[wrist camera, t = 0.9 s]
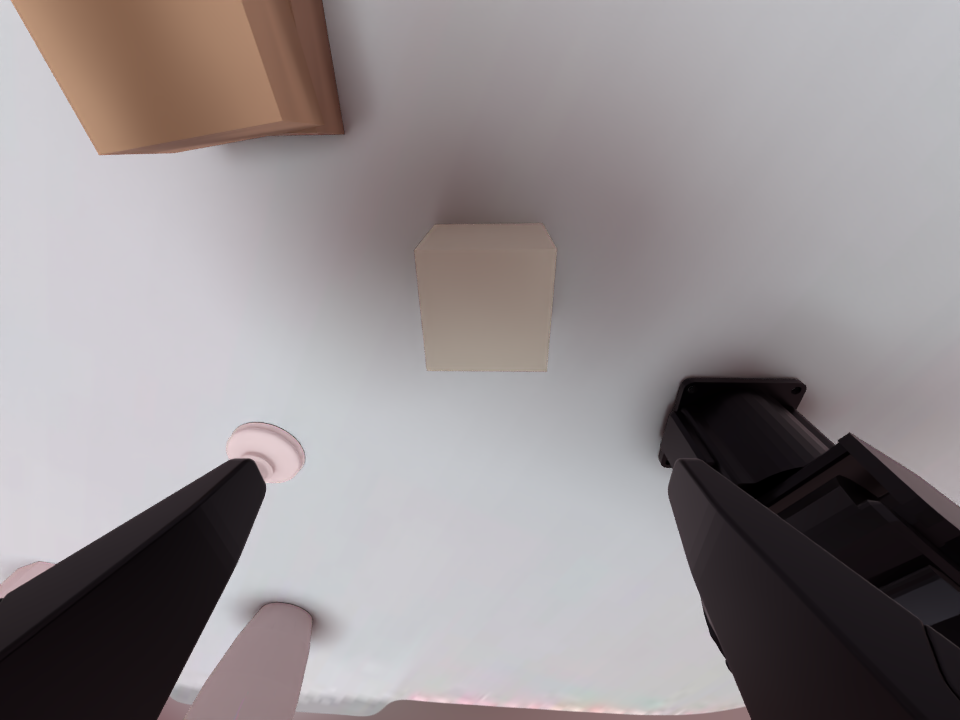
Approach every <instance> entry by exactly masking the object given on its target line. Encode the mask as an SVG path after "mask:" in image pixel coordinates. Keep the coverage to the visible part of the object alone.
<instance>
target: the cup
mask: <svg viewBox="0 0 960 720" xmlns="http://www.w3.org/2000/svg"><path fill="white" fill-rule="evenodd" d="M311 630H312V617H311V615H310V614H309V613H308V612H306V611H305V610H303V609H302V608H300V607H297V606H294V605H291V604H286V603H270V604H267V605H265V606H263V607H262V608H261V609H260V610H259V612H258V613H257V614H256V615H255V616H254V617H253V619H252V620H251V621H250V622H249V623H248V624H247V625H246V627H245V628H244V629H243V630H242V631H241V632H240V634H239V635H238V636H237V638H236V639H235V640H234V642H233V643H232V645H231V646H230V648H229V649H228V650H227V652H226V653H225V655H224V656H223V658H222V659H221V660H220V662H219V663H218V665H217V666H216V668H215V669H214V670H213V672H212V673H211V675H210V676H209V678H208V679H207V680H206V682H205V684H204V685H203V687H202V689H201V690H200V692H199V694H198V695H197V697H196V699H195V700H194V702H193V704H192V705H191V707H190V709H189V711H188V712H187V714H186V716H185V717H184V719H183V720H292V719H293V716H294V713H295V710H296V706H297V703H298V699H299V695H300V691H301V686H302V682H303V677H304V673H305V668H306V664H307V660H308V655H309V649H310V639H311Z"/></svg>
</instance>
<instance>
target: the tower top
mask: <svg viewBox="0 0 960 720" xmlns="http://www.w3.org/2000/svg"><path fill="white" fill-rule="evenodd" d="M11 1H12V3H13V5H14V7H15V8H16V10H17V12H18V14H19V15H20V17H21V19H22V21H23V22H24V24H25V26H26V28H27V29H28V31H29V33H30V35H31V36H32V38H33V40H34V42H35V43H36V45H37V47H38V49H39V50H40V52H41V54H42V56H43V57H44V59H45V61H46V63H47V64H48V66H49V68H50V70H51V72H52V73H53V75H54V77H55V79H56V80H57V82H58V84H59V86H60V87H61V89H62V91H63V93H64V94H65V96H66V98H67V100H68V101H69V103H70V105H71V107H72V108H73V110H74V112H75V114H76V115H77V117H78V119H79V121H80V122H81V124H82V126H83V128H84V129H85V131H86V133H87V135H88V136H89V138H90V140H91V142H92V143H93V145H94V147H95V149H96V150H97V152H98V154H99V155H119V154H158V153H177V152H183V151H188V150H194V149H199V148H205V147H210V146H215V145H221V144H226V143H232V142H237V141H243V140H248V139H254V138H259V137H265V136H270V135H276V134H281V133H287V132H292V131H298V130H303V129H308V128H314V127H319V126H325V123H324V120H323V116H322V113H321V109H320V106H319V103H318V99H317V96H316V93H315V89H314V86H313V83H312V79H311V76H310V72H309V69H308V66H307V62H306V59H305V56H304V52H303V49H302V46H301V42H300V39H299V35H298V32H297V29H296V25H295V22H294V19H293V15H292V12H291V9H290V5H289V2H288V0H11Z"/></svg>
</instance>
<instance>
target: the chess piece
mask: <svg viewBox="0 0 960 720" xmlns="http://www.w3.org/2000/svg"><path fill="white" fill-rule="evenodd" d="M226 452H227V455H228V458H229V460H230V459H234V458H250V459H252V460H254V461H255V463H256V464H257V467H258V469H259V471H260V473H261V475H262V477H263V479H264V481H265V482H266V483H281V482H285V481H288V480H290V479H292V478H293V477H294V476H295V475H296V474H297V473H298V471H300V470H301V468H302V467H303V465H304V462H305V455H304V451H303V449H302V447H301V445H300V444H299V443H298V441H297V440H296V439H295V438H294V437H293V436H292V435H290V434H289V433H287V432H286V431H284V430H282V429H280V428H278V427H276V426H273V425H270V424H265V423H248V424H244V425H241V426H240V427H238V428H237V429H235V430H234V432H233V433H232V435H231V437H230V438H229V439H228V441H227V444H226Z"/></svg>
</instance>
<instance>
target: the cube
mask: <svg viewBox="0 0 960 720" xmlns="http://www.w3.org/2000/svg"><path fill="white" fill-rule="evenodd" d="M414 255H415V264H416V273H417V283H418V292H419V302H420V311H421V321H422V330H423V340H424V349H425V358H426V368H427V371H517V372H547V362H548V350H549V338H550V327H551V315H552V303H553V291H554V279H555V267H556V255H557V248H556V246H555V245H554V243H553V241H552V239H551V237H550V236H549V234H548V232H547V230H546V228H545V227H544V225H543V223H501V224H435V225H434V226H433V227H432V228H431V230H430V231H429V232H428V233H427V235H426V236H425V237H424V238H423V240H422V241H421V242H420V243H419V245H418V246H417V247H416V248H415V250H414Z"/></svg>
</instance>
